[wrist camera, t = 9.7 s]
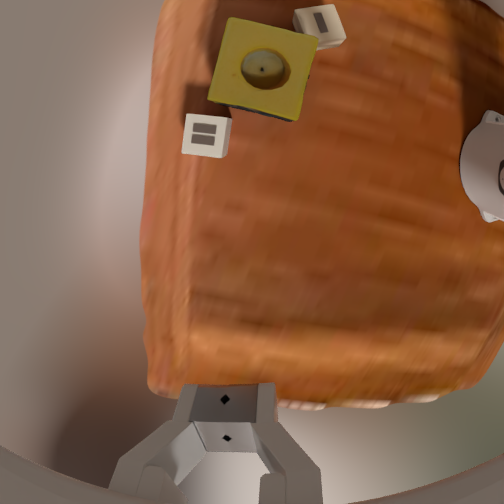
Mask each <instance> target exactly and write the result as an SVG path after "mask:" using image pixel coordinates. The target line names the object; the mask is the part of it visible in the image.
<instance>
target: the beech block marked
mask: <svg viewBox="0 0 504 504" xmlns="http://www.w3.org/2000/svg"><path fill="white" fill-rule="evenodd" d="M292 23H293V25H294V28H295V31H296V33H302V34H308V35H312V36H315V37H317V38H318V39H319V41H318V46H317V49H316V50H321V49H328V48H334V47H339V46H340V44H341V43H342V42H343V41H344V40H345V39H346V35H345V32H344V29H343V27H342V24H341V21H340V19H339V16H338V14H337V11H336V9H335V6H334V4H330V5H322V6H315V7H308V8H302V9H296V10H295V11H294V16H293V20H292Z"/></svg>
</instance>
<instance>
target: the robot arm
mask: <svg viewBox="0 0 504 504" xmlns="http://www.w3.org/2000/svg"><path fill="white" fill-rule="evenodd" d="M495 119H496V120H495ZM460 174H461V180H462V184H463V187H464V189H465V192H466V194H467V195H468V197H469V198H470V200H471V201H472V202H473V203H474V204H475V205H476V206H477V207H478V208H479V210H480V213H481V215H482V218H483V219H484V220H485V221H487V222H493V221H496V220H499V219H500V220H502V221H504V116H503V115H501V114H499V113H497V112H495V111H492V110H487V111H486V112H485V114H484V116H483V118H482V121H481V123H480V124H479V125H478V126H477V127H475V128H474V129H473V130H472V131H471V132H470V134H469V135H468V137H467V138H466V140H465V142H464V145H463V148H462V152H461V158H460ZM206 451H208V452H209V451H211V452H257V454H258V455H259V457H260V458H261V460H262V461H263V463H264V464H265V466H266V467H267V468H268V470H269V472H270V474H264V475H263V476H262V477H261V479H260V492H259V504H323V497H322V485H321V472H320V469H319V467H318V466H317V465H316V464H315V463H314V462H313V461H312V460H311V459H310V457H309V456H308V455H307V454H306V453H305V452H304V451H303V450H302V448H301V447H300V446H299V445H298V444H297V443H296V442H295V440H294V439H293V438H292V437H291V436H290V435H289V433H288V432H287V431H286V430H285V429H284V428H283V426H282V425H281V424H280V423H279V422H278V410H277V398H276V388H275V383H256V384H231V385H209V384H184V386H183V387H182V390H181V393H180V396H179V399H178V403H177V406H176V409H175V413H174V416H173V419H172V421H171V420H168V421H166V422H165V423H164V424H163V425H162V426H160V427H159V428H158V429H157V430H156V431H154V432H153V433H152V434H151V435H149V436H148V437H147V438H145V439H144V440H143V441H142V442H140V443H139V444H138V445H136V446H135V447H134V448H133V449H131V450H130V451H129V452H127V453H126V454H125V455H123V456H122V457H121V458H120V459H119V461H118V464H117V466H116V469H115V472H114V474H113V477H112V480H111V482H110V485H109V488H108V489H104V488H101V487H98V486H95V485H92V484H88V483H86V482H82V481H79V480H77V479H74V478H71V477H68V476H66V475H63V474H61V473H58V472H55V471H53V470H51V469H48V468H46V467H43V466H41V465H39V464H36V463H34V462H32V461H30V460H28V459H26V458H24V457H22V456H20V455H17V454H16V453H14V452H12V451H10V450H8V449H6V448H4V447H2V446H0V504H187V502H188V499H187V497H186V496H185V495H184V494H183V493H182V492H181V490H180V489H179V488H178V487H177V485H178V484H179V483H180V482H181V481H182V480H183V479H184V478H185V477H186V476H187V474H188V473H189V472H190V471H191V470H192V469H193V468H194V467H195V466H196V464H198V462H199V461H200V460H201V459H202V458H203V457H204V456H205V454H206V453H207V452H206ZM348 504H504V453H503V454H501V455H499V456H497V457H495V458H493V459H491V460H489V461H487V462H485V463H483V464H480V465H478V466H476V467H473V468H471V469H469V470H467V471H464V472H461V473H459V474H456V475H454V476H451V477H448V478H446V479H443V480H440V481H437V482H434V483H431V484H428V485H425V486H422V487H418V488H415V489H412V490H408V491H404V492H401V493H397V494H393V495H389V496H384V497H380V498H376V499H370V500H366V501H360V502H354V503H348Z"/></svg>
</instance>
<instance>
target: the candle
mask: <svg viewBox="0 0 504 504" xmlns="http://www.w3.org/2000/svg"><path fill="white" fill-rule="evenodd" d="M318 41H319V39H318V38H317V37H315V36H312V35H308V34H302V33H296V32H292V31H289V30H286V29H282V28H278V27H275V26H269V25H265V24H261V23H257V22H253V21H250V20H245V19H240V18H235V17H229V18H228V20H227V23H226V27H225V31H224V35H223V39H222V43H221V47H220V51H219V55H218V59H217V63H216V66H215V70H214V74H213V78H212V82H211V85H210V88H209V92H208V98H207V100H211V101H213V102H215V103H217V104H220V105H223V106H228V107H232V108H237V109H242V110H246V111H251V112H254V113H258V114H261V115H265V116H269V117H275V118H278V119H282V120H285V121H288V122H292V121H297V120H298V118H299V114H300V111H301V106H302V101H303V95H304V91H305V89H306V84H307V80H308V79H309V76H310V75H309V72H310V68H311V64H312V61H313V58H314V55H315V52H316V49H317V46H318Z"/></svg>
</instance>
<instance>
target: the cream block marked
mask: <svg viewBox="0 0 504 504" xmlns="http://www.w3.org/2000/svg"><path fill="white" fill-rule="evenodd" d="M231 124H232V119H231V118H226V117H217V116H208V115H198V114H186V121H185V129H184V137H183V145H182V153H183V154H192V155H201V156H209V157H217V158H222V157H224V156H226V155H227V151H228V144H229V137H230V131H231Z"/></svg>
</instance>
